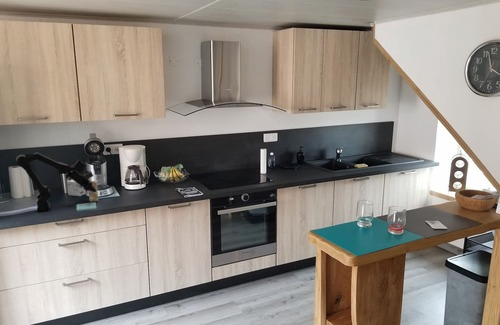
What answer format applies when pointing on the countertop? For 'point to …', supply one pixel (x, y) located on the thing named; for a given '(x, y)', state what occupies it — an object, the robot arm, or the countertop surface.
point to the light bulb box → (75, 188)
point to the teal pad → (86, 206)
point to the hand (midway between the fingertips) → (95, 190)
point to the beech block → (93, 195)
